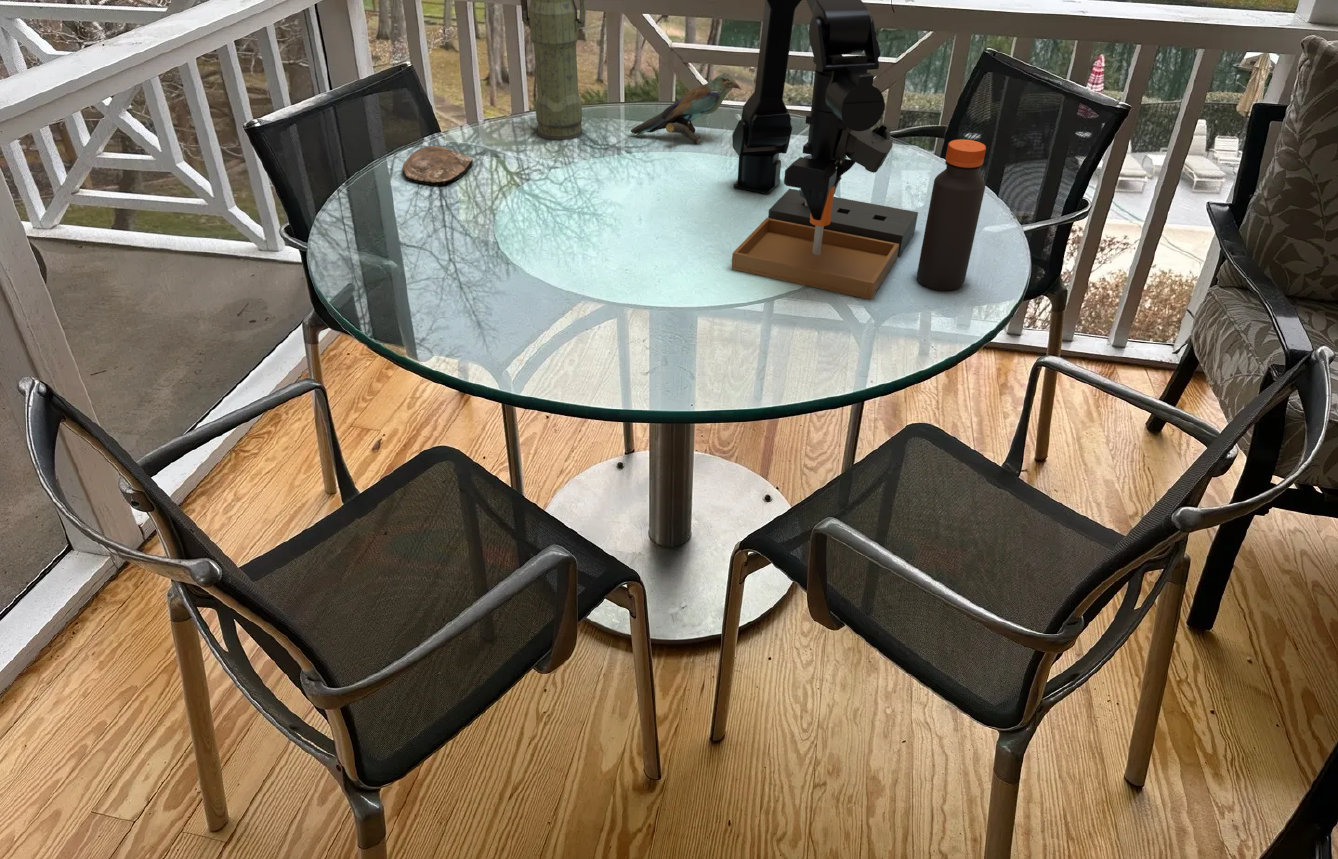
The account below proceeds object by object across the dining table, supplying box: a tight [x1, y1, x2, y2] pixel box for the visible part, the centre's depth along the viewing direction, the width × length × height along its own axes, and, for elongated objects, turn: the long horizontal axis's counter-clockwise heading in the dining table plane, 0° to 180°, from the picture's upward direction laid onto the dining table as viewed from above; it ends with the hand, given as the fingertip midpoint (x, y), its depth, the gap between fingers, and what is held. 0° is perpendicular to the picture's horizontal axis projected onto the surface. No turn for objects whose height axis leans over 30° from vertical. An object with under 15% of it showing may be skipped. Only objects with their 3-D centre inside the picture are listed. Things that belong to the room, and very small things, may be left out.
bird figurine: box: [630, 72, 742, 145], centre depth 180 cm, size 13×10×20 cm
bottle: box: [916, 138, 987, 292], centre depth 130 cm, size 7×7×20 cm
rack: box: [767, 188, 919, 258], centre depth 149 cm, size 10×21×4 cm, turn 64°
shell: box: [401, 145, 474, 186], centre depth 167 cm, size 12×13×4 cm
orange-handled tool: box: [810, 186, 835, 255], centre depth 136 cm, size 3×3×11 cm
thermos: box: [520, 0, 586, 141], centre depth 176 cm, size 9×12×35 cm
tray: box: [731, 217, 899, 301], centre depth 139 cm, size 21×14×3 cm
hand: (820, 215), depth 136 cm, fingers closed on orange-handled tool, 3 cm apart
